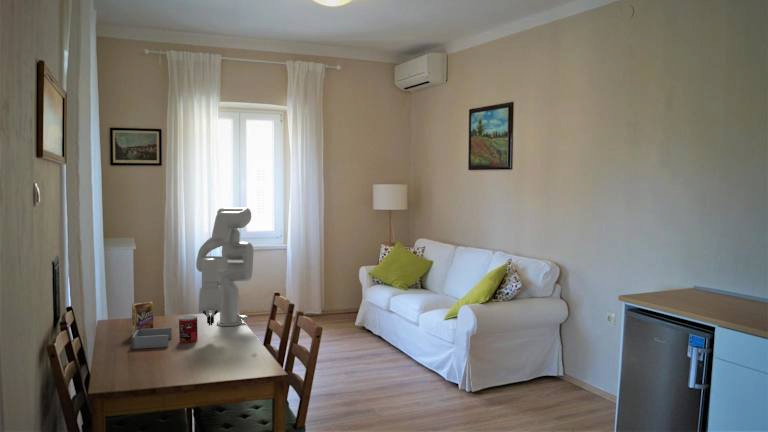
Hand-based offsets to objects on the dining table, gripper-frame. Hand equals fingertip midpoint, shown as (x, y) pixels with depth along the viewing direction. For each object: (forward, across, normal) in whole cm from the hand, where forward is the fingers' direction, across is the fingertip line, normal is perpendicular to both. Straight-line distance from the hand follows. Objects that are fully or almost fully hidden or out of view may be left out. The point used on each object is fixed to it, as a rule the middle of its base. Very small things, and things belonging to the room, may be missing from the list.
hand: (210, 324), depth 270 cm
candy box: (+7, +32, -19) cm, 38 cm away
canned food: (+7, +10, -1) cm, 12 cm away
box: (+7, +25, -1) cm, 26 cm away
